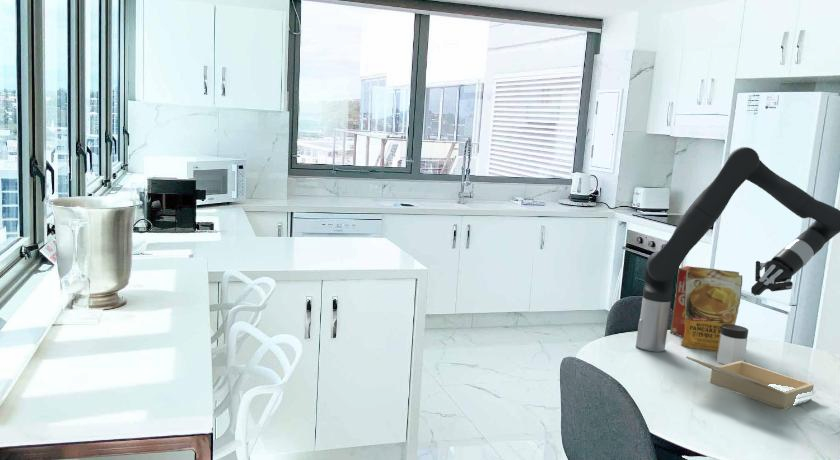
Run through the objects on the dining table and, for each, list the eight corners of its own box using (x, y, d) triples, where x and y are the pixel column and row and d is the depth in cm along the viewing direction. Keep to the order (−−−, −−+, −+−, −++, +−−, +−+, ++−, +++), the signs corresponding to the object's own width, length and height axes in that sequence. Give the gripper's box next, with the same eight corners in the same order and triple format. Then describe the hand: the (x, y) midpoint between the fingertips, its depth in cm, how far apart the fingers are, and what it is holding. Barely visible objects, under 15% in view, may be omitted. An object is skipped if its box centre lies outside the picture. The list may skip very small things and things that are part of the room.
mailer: (738, 374, 218) (740, 360, 217) (811, 399, 200) (813, 384, 199) (709, 382, 208) (712, 367, 207) (783, 409, 191) (786, 393, 190)
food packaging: (668, 333, 260) (677, 267, 256) (678, 329, 267) (687, 265, 263) (704, 342, 251) (714, 274, 247) (714, 338, 258) (723, 272, 254)
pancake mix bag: (674, 341, 249) (685, 264, 245) (731, 349, 245) (743, 271, 241) (677, 346, 243) (688, 268, 239) (735, 354, 239) (747, 274, 235)
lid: (686, 356, 197) (685, 358, 197) (758, 381, 180) (758, 383, 180) (713, 367, 207) (712, 369, 207) (784, 392, 190) (783, 394, 190)
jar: (749, 365, 228) (754, 329, 226) (736, 369, 223) (742, 332, 221) (722, 356, 235) (727, 322, 233) (710, 360, 230) (715, 325, 228)
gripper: (774, 238, 214) (734, 273, 211) (814, 262, 205) (773, 299, 202) (773, 252, 219) (734, 287, 216) (812, 276, 210) (772, 312, 208)
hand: (753, 293), depth 209 cm, fingers closed
